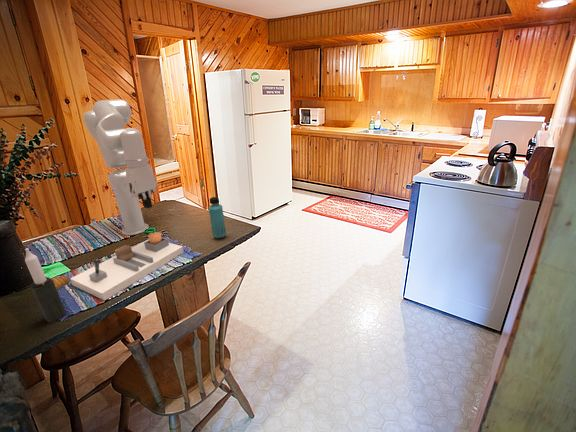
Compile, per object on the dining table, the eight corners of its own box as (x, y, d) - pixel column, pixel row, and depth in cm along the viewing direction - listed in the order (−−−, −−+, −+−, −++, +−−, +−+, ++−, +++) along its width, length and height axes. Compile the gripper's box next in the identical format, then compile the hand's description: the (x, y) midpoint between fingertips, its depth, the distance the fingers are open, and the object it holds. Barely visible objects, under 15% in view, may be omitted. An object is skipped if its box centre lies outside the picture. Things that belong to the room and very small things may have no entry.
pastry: (64, 278, 120) (61, 269, 118) (73, 283, 116) (70, 274, 115) (36, 291, 113) (33, 282, 111) (44, 297, 109) (41, 288, 108)
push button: (147, 244, 132) (145, 236, 130) (157, 239, 136) (155, 231, 134) (155, 247, 130) (153, 238, 128) (165, 241, 134) (163, 233, 132)
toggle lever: (92, 272, 111) (92, 259, 107) (98, 270, 113) (97, 256, 109) (96, 276, 111) (96, 262, 107) (101, 273, 113) (101, 259, 109)
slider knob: (117, 261, 123) (114, 250, 121) (129, 255, 127) (125, 244, 125) (122, 262, 122) (119, 251, 120) (133, 256, 126) (130, 246, 124)
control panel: (72, 285, 115) (67, 271, 112) (153, 243, 143) (150, 231, 141) (104, 300, 105) (99, 286, 103) (183, 252, 134) (181, 240, 132)
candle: (61, 308, 102) (33, 242, 93) (67, 314, 100) (40, 246, 90) (43, 317, 99) (12, 249, 89) (49, 323, 96) (18, 254, 86)
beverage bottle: (223, 241, 142) (218, 200, 135) (210, 240, 144) (204, 200, 136) (229, 234, 148) (223, 195, 140) (216, 234, 150) (210, 195, 142)
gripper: (147, 158, 127) (157, 200, 134) (113, 167, 115) (125, 212, 122) (159, 159, 123) (169, 202, 130) (126, 168, 111) (138, 215, 118)
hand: (148, 207), depth 126 cm, fingers closed
